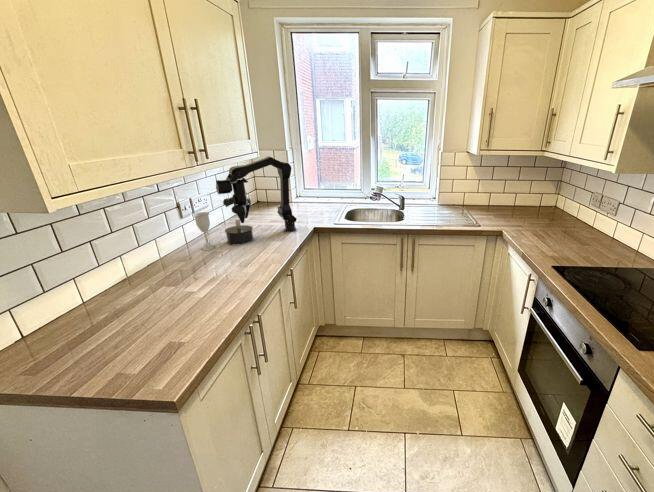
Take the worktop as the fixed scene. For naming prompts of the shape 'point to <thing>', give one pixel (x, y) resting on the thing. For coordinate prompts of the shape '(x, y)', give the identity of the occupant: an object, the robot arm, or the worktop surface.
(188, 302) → the worktop surface
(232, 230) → the tin lid
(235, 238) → the tin
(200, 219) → the chalice
